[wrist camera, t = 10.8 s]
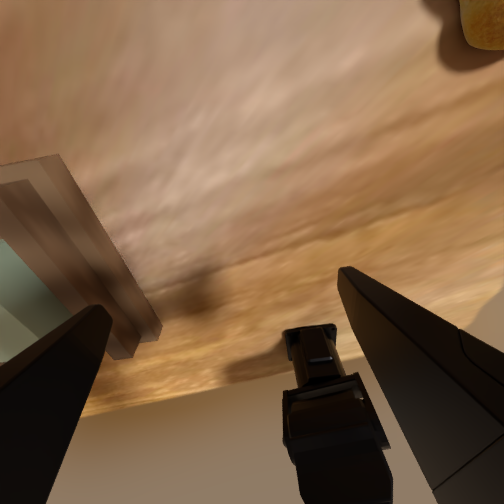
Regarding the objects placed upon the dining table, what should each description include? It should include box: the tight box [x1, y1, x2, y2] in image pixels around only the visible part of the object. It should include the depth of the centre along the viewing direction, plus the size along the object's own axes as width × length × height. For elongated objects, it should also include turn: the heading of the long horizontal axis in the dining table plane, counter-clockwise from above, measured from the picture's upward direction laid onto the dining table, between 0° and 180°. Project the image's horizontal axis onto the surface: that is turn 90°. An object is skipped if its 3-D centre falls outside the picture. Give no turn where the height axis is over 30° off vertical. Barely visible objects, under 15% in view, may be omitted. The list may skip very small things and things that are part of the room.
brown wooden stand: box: [0, 154, 163, 366], centre depth 21 cm, size 20×18×4 cm
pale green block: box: [0, 239, 73, 362], centre depth 19 cm, size 10×6×4 cm, turn 9°
